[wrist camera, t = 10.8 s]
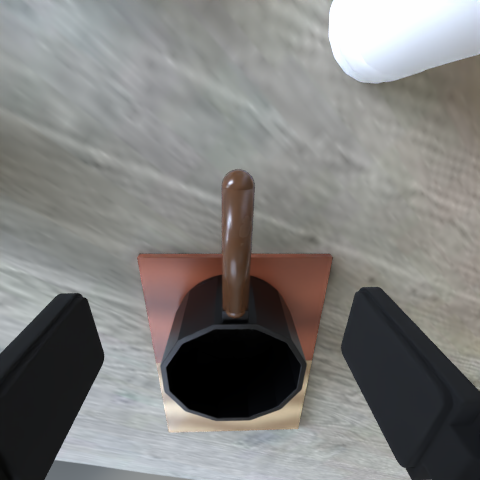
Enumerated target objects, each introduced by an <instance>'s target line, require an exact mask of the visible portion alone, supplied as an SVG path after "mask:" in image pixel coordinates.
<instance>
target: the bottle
mask: <svg viewBox="0 0 480 480" xmlns="http://www.w3.org/2000/svg"><path fill="white" fill-rule="evenodd" d="M329 39H330V43H331V47H332V51H333V55H334V58H335V59H336V61H337V62H338V64H339V65H340V67H341V68H342V69H343V71H344V72H345V73H346V74H347V75H349V76H351V77H352V78H354V79H356V80H357V81H359V82H365V83H376V84H378V83H381V82H390V81H394V80H398V79H401V78H404V77H407V76H411V75H414V74H417V73H420V72H423V71H424V70H426V69H430V68H433V67H437V66H440V65H444V64H447V63H451V62H454V61H458V60H461V59H464V58H468V57H471V56H475V55H478V54H480V0H333V3H332V6H331V9H330V18H329Z"/></svg>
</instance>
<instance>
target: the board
mask: <svg viewBox="0 0 480 480" xmlns="http://www.w3.org/2000/svg"><path fill="white" fill-rule="evenodd" d="M137 259H138V265H139V270H140V276H141V281H142V287H143V293H144V298H145V304H146V309H147V315H148V320H149V326H150V331H151V337H152V342H153V348H154V353H155V359H156V364H157V370H158V376H159V381H160V387H161V392H162V398H163V403H164V409H165V414H166V420H167V425H168V431H169V433H174V432H208V431H243V430H277V429H298V427H299V422H300V417H301V412H302V407H303V402H304V397H305V392H306V388H307V383H308V378H309V373H310V368H311V363H312V358H313V353H314V348H315V343H316V338H317V333H318V328H319V323H320V318H321V313H322V308H323V303H324V299H325V294H326V289H327V284H328V279H329V274H330V269H331V264H332V259H333V257H332V256H331V254H251V270H250V275H251V276H254V277H257V278H260V279H262V280H264V281H266V282H268V283H269V284H271V285H272V286H273V287H274V288H276V290H278V292H279V293H280V294H281V296H282V297H283V299H284V301H285V303H286V305H287V307H288V309H289V311H290V313H291V316H292V319H293V322H294V325H295V328H296V331H297V335H298V338H299V341H300V344H301V347H302V350H303V353H304V356H305V359H306V363H307V367H306V372H305V376H304V381H303V386H302V390H301V391H300V392H299V393H298V394H297V395H296V396H295V397H293V398H292V399H291V400H290V401H289V402H288V403H287V404H286V405H285V406H284V407H283V408H282V409H280V410H278V411H275V412H272V413H270V414H267V415H264V416H261V417H258V418H256V419H253V420H250V421H214V420H211V419H207V418H204V417H201V416H198V415H195V414H192V413H189V412H186V411H184V410H183V409H182V408H181V407H180V406H179V405H178V404H177V403H176V402H175V401H173V400H172V399H171V398H170V397H169V396H168V395H167V394H166V393H165V392H164V387H163V381H162V374H161V368H160V365H161V362H162V358H163V355H164V351H165V348H166V344H167V341H168V338H169V334H170V331H171V327H172V324H173V321H174V317H175V314H176V311H177V310H178V308H179V306H180V304H181V302H182V300H183V298H184V297H185V295H186V294H187V293H188V292H189V291H190V290H191V289H192V288H193V287H194V286H196V285H197V284H198V283H200V282H202V281H203V280H206V279H208V278H210V277H213V276H217V275H222V254H139V256H138V257H137Z"/></svg>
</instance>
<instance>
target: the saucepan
mask: <svg viewBox="0 0 480 480" xmlns="http://www.w3.org/2000/svg"><path fill="white" fill-rule="evenodd" d="M254 192H255V183H254V180H253V178H252V176H251V175H250V174H249V173H248V172H246V171H245V170H241V169H235V170H232V171H230V172H228V173H227V174H226V175H225V177H224V179H223V181H222V275H217V276H213V277H210V278H208V279H206V280H203V281H202V282H200V283H198V284H197V285H196V286H194V287H193V288H192V289H191V290H190V291H189V292H188V293H187V294H186V295H185V297H184V298H183V300H182V302H181V304H180V306H179V308H178V310H177V311H176V314H175V317H174V321H173V324H172V327H171V331H170V334H169V338H168V341H167V344H166V348H165V351H164V355H163V358H162V362H161V365H160V368H161V374H162V381H163V387H164V392H165V393H166V394H167V395H168V396H169V397H170V398H171V399H172V400H173V401H175V402H176V403H177V404H178V405H179V406H180V407H181V408H182V409H183V410H184V411H186V412H189V413H192V414H195V415H198V416H201V417H204V418H207V419H211V420H214V421H250V420H253V419H256V418H258V417H261V416H264V415H267V414H270V413H272V412H275V411H278V410H280V409H282V408H283V407H284V406H285V405H286V404H287V403H288V402H289V401H290V400H291V399H292V398H293V397H295V396H296V395H297V394H298V393H299V392H300V391H301V390H302V386H303V381H304V376H305V372H306V367H307V363H306V359H305V356H304V353H303V350H302V347H301V344H300V341H299V338H298V335H297V331H296V328H295V325H294V322H293V319H292V316H291V313H290V311H289V309H288V307H287V305H286V303H285V301H284V299H283V297H282V296H281V294H280V293H279V292H278V290H276V288H274V287H273V286H272V285H271V284H269V283H268V282H266V281H264V280H262V279H260V278H257V277H254V276H251V275H250V270H251V250H252V231H253V211H254Z"/></svg>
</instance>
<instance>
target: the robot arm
mask: <svg viewBox="0 0 480 480" xmlns="http://www.w3.org/2000/svg"><path fill="white" fill-rule="evenodd" d="M341 350H342V354H343V357H344V358H345V360H346V362H347V364H348V366H349V368H350V370H351V372H352V374H353V376H354V378H355V380H356V382H357V384H358V386H359V388H360V390H361V392H362V394H363V396H364V398H365V399H366V401H367V403H368V405H369V407H370V409H371V411H372V413H373V415H374V417H375V419H376V421H377V423H378V425H379V427H380V429H381V431H382V433H383V435H384V437H385V438H386V440H387V442H388V444H389V446H390V448H391V450H392V452H393V454H394V456H395V458H396V460H397V461H398V463H399V464H400V465H401V466H402V467H404V468H406V470H407V472H408V474H409V475H410V477H411V479H412V480H431V479H432V480H480V391H479V390H478V389H477V388H476V387H475V386H474V385H473V384H472V383H471V382H470V381H469V380H468V379H467V378H466V377H465V376H464V375H463V374H462V372H461V371H460V370H459V369H458V368H457V367H456V366H455V365H454V364H453V363H452V362H451V361H450V360H449V359H448V358H447V357H446V356H445V355H444V354H443V353H442V352H441V350H440V349H439V348H438V347H437V346H436V345H435V344H434V343H433V342H432V341H431V340H430V339H429V338H428V337H427V336H426V335H425V334H424V333H423V332H422V331H421V330H420V328H419V327H418V326H417V325H416V324H415V323H414V322H413V321H412V320H411V319H410V318H409V317H408V316H407V315H406V314H405V313H404V312H403V311H402V310H401V309H400V308H399V306H398V305H397V304H396V303H395V302H394V301H393V300H392V299H391V298H390V297H389V296H388V295H387V294H386V293H385V292H384V291H383V290H382V289H381V288H380V287H362V288H361V289H360V290H359V291H358V292H356V293H355V296H354V299H353V303H352V307H351V311H350V314H349V318H348V322H347V326H346V329H345V333H344V337H343V340H342V344H341ZM103 361H104V352H103V348H102V345H101V342H100V339H99V335H98V332H97V329H96V326H95V322H94V319H93V316H92V313H91V309H90V306H89V303H88V300H87V299H86V298H83V297H82V295H81V294H79V293H68V294H59V295H57V296H56V297H55V298H54V299H53V300H52V301H51V302H50V303H49V304H48V305H47V306H46V307H45V308H44V309H43V310H42V311H41V312H40V314H39V315H38V316H37V317H36V318H35V319H34V320H33V321H32V322H31V323H30V324H29V325H28V326H27V327H26V328H25V329H24V330H23V331H22V332H21V333H20V334H19V335H18V336H17V337H16V338H15V339H14V340H13V341H12V342H11V343H10V344H9V345H8V346H7V347H6V348H5V350H4V351H3V352H2V353H1V354H0V480H44V479H45V477H46V475H47V473H48V472H49V470H50V468H51V466H52V464H53V462H54V460H55V458H56V456H57V454H58V452H59V450H60V448H61V446H62V444H63V442H64V440H65V438H66V436H67V434H68V432H69V430H70V428H71V426H72V424H73V422H74V420H75V418H76V416H77V414H78V412H79V410H80V408H81V406H82V404H83V402H84V400H85V398H86V396H87V394H88V392H89V390H90V388H91V386H92V384H93V382H94V380H95V378H96V376H97V374H98V372H99V370H100V369H101V367H102V364H103Z"/></svg>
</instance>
